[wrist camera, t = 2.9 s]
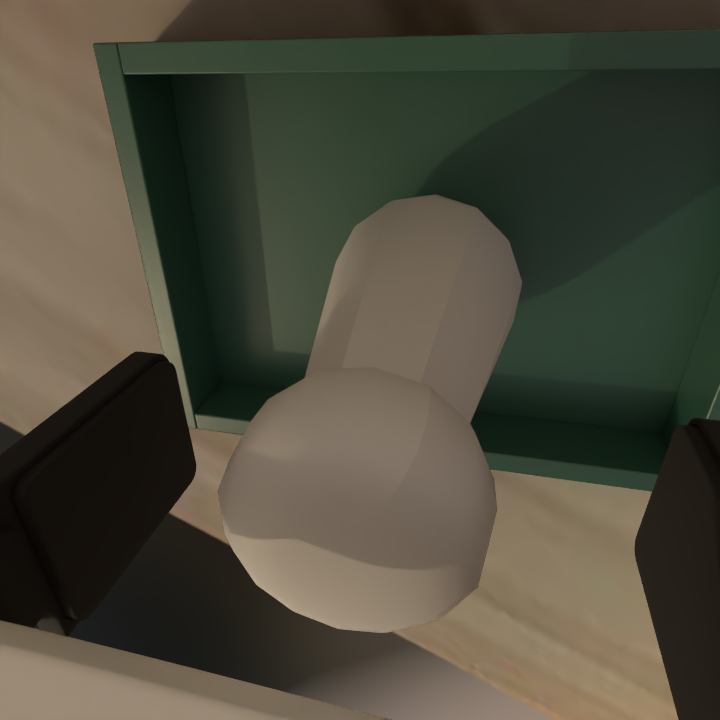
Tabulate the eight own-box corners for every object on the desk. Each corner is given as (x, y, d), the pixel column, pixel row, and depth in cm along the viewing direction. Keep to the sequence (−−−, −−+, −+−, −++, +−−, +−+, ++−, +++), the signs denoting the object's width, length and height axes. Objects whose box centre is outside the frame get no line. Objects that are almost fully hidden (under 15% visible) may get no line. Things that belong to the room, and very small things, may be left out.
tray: (211, 389, 24) (179, 427, 21) (148, 45, 17) (91, 42, 15) (675, 445, 20) (701, 499, 18) (830, 31, 13) (906, 24, 11)
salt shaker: (536, 314, 18) (600, 692, 7) (388, 355, 20) (265, 694, 9) (487, 150, 16) (472, 339, 5) (326, 215, 18) (72, 448, 7)
